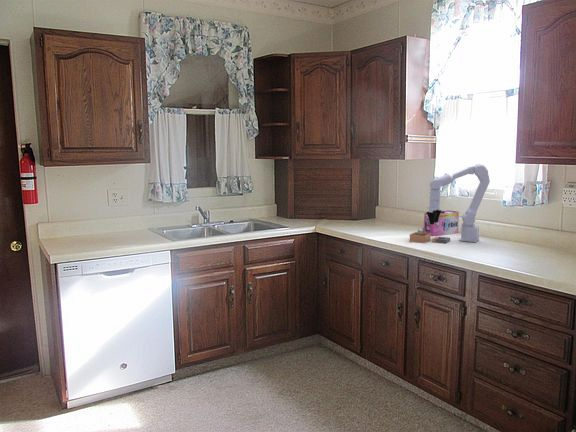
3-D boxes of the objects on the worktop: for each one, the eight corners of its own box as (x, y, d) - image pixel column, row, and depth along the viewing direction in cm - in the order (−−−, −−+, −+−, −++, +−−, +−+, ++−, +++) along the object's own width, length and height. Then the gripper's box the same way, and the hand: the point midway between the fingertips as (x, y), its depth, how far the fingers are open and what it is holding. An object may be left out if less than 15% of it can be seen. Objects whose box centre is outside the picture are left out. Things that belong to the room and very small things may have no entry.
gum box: (430, 236, 304) (431, 214, 302) (421, 234, 311) (421, 212, 309) (458, 233, 316) (459, 211, 314) (448, 231, 323) (449, 210, 321)
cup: (430, 240, 292) (430, 233, 292) (425, 242, 284) (425, 235, 284) (414, 238, 297) (415, 232, 297) (409, 241, 289) (409, 234, 289)
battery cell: (423, 239, 291) (424, 226, 290) (422, 240, 289) (422, 227, 287) (418, 239, 293) (418, 226, 292) (416, 240, 290) (416, 227, 289)
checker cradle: (450, 241, 289) (450, 237, 289) (446, 243, 283) (446, 239, 282) (436, 239, 294) (436, 236, 293) (432, 242, 287) (432, 238, 287)
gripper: (431, 198, 301) (430, 221, 302) (423, 200, 289) (423, 224, 290) (443, 199, 297) (442, 222, 299) (436, 201, 285) (435, 225, 287)
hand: (433, 223), depth 294 cm, fingers open, 7 cm apart
